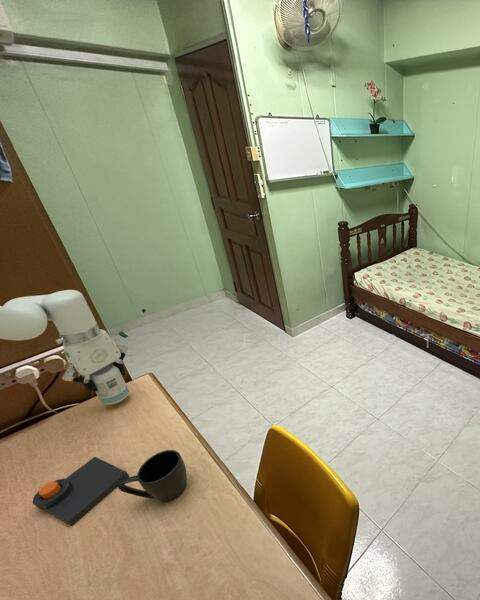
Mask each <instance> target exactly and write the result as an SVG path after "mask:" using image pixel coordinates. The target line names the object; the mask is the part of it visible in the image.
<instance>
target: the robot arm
mask: <svg viewBox="0 0 480 600" xmlns="http://www.w3.org/2000/svg"><path fill="white" fill-rule="evenodd" d="M48 321H52V322H53V324H54V326H55V327H56V330H57V331H58V333H59V334H58V335H59V337H58V338H56V339H55V342H56V343H57V345H61V344H62V348H63V353H64V355H65V359H66V361H67V362H68V365H69V366H68V367H67V368H66V371H65V372H64V374H63V375H62V377H61V380H63V381H65V382H73V383H82V385H83V387H84V388H85V390H86V391H88V392H89V391H91V392H93V393H96V391H97V390H98V389H97V388H96V386H95V384H94V382H93V381H92V380H90V374H92V373H94V372H96V371H98V370H99V369H101V368H103V367H105V366H107V365H109V364H113V365H114V366H116V367H117V368H118V369H119V371H120V373H121V375H122V376H125V375H126V372H125V371H126V368H125V367H124V365H123V364H124V359H125V357H126V353H127V351H128V349H129V347H128V346H126V345H123V344H122V345H121V344H116V343H115V342H114V340H113V338H112V337H111V336H110V335H109V333H108V332H107V331H106V330H105V329H101V328H100V327H99V324H98V322H97V321H96V319H95V317H94V315H93V313H92V310H91V308H90V307H89V305H88V303H87V300H86V298H85V297H84V295H83V293H82V292H80V291H78V290H77V289H76V290H75V289H67V290H66V289H65V290H59V291H55V292H52V293H50V294H40V295H28V296H21V297H15V298H12V299H10V300H8V301H7V302H5V303H4V304H3V305H0V339H1V340H8V341H28V340H32V339H35V338H37V337H40V336H41V335H42V334H43V333H44V332H45V331H46V330H47V327H48ZM75 373H78V375H77V376H73V375H74V374H75Z"/></svg>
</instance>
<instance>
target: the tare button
mask: <svg viewBox="0 0 480 600" xmlns="http://www.w3.org/2000/svg"><path fill="white" fill-rule="evenodd" d="M60 490H61V486H60V485H59V484H58V483H57V482H55V480H53V481H50V482H48V483H46V484H44V485H43V486H42V487H41V488H39V490H38V491H39V494H40V495H41V496H42V497H43V498H44V499H49V498H51V497H53V496H54V495H56V494H57V493H58V492H59V491H60Z"/></svg>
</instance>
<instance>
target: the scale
mask: <svg viewBox="0 0 480 600" xmlns="http://www.w3.org/2000/svg"><path fill="white" fill-rule="evenodd" d="M128 477H130V475H129V473H128V472H127V471H125V470H123V469H122V468H120V467H118V466H115V465H113V464H111V463H109V462H107V461H105V460H103V459H101V458H99V457H97V456H94V457H92V458H91V459H90V460H88V461H87V462H85V463H84V464H82V466H80V467H79V468H78V469H76V470H74V472H73V473H71V474H70V475H68V476H67V477H65V478H59V479H55V480H54V481H55V482H57V483H58V484H59V485H60V486H61V490H60V491H59V492H58V493H57V494H56V495H54V496H53V497H51V498H49V499H44V498H43V497H42V496H41V495H40V494H39V490H38V491H37V492H36V493H35V495H34V496H33V498H32V504H33V506H35V507H36V508H38V509H39V510H44V511H45V512H47V513H49V514H50V515H52V516H54V518H55V517H56V518H57V519H59V520H60V521H62V522H64V523H65V524H67V525H68V526H70V527H73V526H74V525H75V524H77V523H78V522H79V521H80V520H81V519H82V518H84V516H86V515H87V514H88V513H89V512H90V511H91V510H93V509H94V508H95V507H96V506H98V505H99V504H100V503H101V502H102V501H103V500H104V499H106V497H108V496H110V494H111V493H113V491H115V489H117V488H118V483H119V482H120V481H121V480H123V479H125V478H128Z"/></svg>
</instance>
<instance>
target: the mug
mask: <svg viewBox="0 0 480 600" xmlns="http://www.w3.org/2000/svg"><path fill="white" fill-rule="evenodd" d="M186 467H187V466H186V464H185V461H184V460H183V457H182V455H181V454H180V452H178V451H177V450H175V449H166V450H163V451H160V452H157V453H156V454H153V455H152V456H150V457H149V458H147V459H146V460H145V461H144V462H143V463H142V464H141V466H140V468H139V469H138V471H137V474H136V475H132V476H129V477H128V478H125V479H123V480H121V481H120V482H119V483H118V487H117V488H118V490H119V491H121V492H123V493H126V494H129V495H132V496H137V497H140V498H144V499H157V500H160V501H161V502H165V503H167V502H168V503H169V502H173V501H174V500H176V499H177V498H179V497H180V496H181V495H182V494H183V493H184V492H185V490H186V488H187V468H186ZM133 482H138V483H139V484H140V486H141V487H142V489H143V490H141V489H139V488H134V487H132V486H129V485H126V484H129V483H133Z"/></svg>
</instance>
